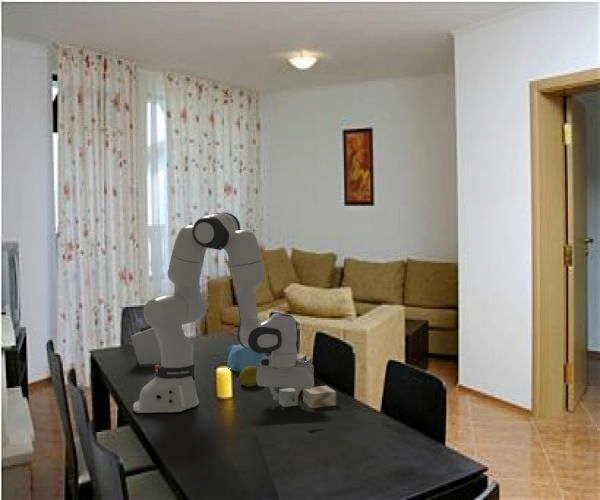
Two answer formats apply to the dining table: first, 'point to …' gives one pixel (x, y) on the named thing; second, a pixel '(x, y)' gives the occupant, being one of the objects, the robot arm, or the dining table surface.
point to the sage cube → (287, 397)
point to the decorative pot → (242, 358)
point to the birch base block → (319, 396)
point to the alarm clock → (147, 347)
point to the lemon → (248, 376)
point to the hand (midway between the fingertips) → (285, 400)
